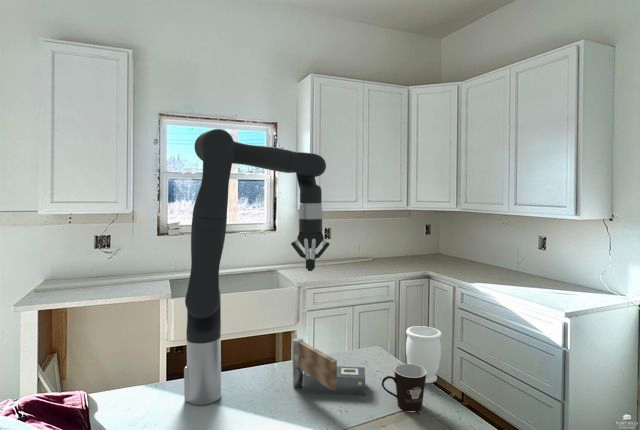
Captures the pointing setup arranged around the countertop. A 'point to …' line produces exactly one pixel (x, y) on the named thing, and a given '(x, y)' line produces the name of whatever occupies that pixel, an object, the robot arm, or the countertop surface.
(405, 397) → the coffee mug
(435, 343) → the jar
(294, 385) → the swing post
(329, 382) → the brown wooden board
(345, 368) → the case
